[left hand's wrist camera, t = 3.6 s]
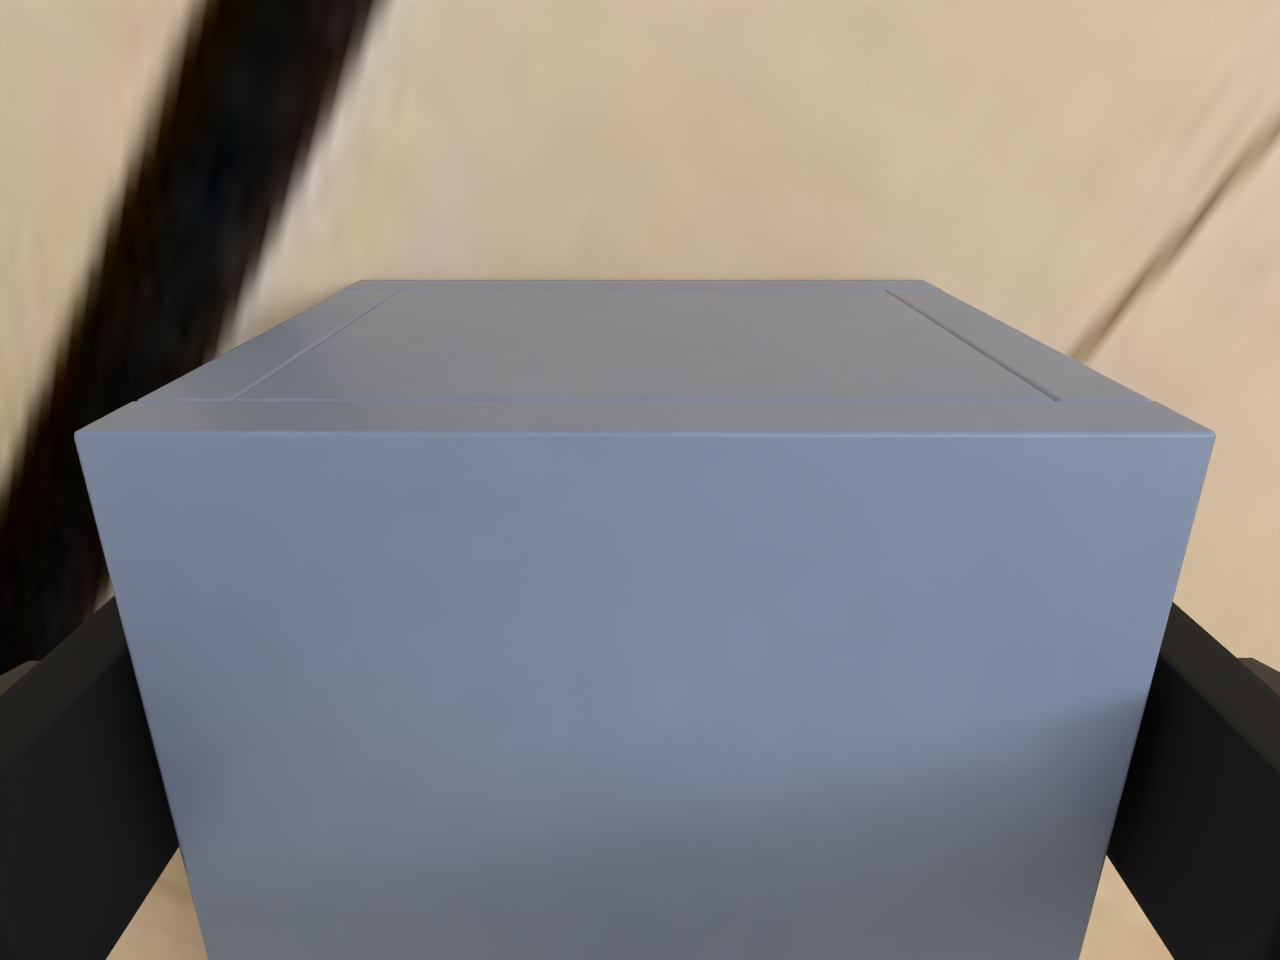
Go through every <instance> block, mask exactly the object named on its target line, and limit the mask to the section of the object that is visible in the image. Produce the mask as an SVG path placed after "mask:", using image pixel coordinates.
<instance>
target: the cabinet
mask: <svg viewBox="0 0 1280 960" xmlns="http://www.w3.org/2000/svg"><path fill="white" fill-rule="evenodd" d="M74 439H75V443H76V447H77V451H78V454H79V458H80V462H81V466H82V470H83V474H84V478H85V482H86V486H87V489H88V493H89V497H90V501H91V505H92V509H93V513H94V517H95V520H96V524H97V528H98V532H99V536H100V540H101V544H102V548H103V552H104V555H105V559H106V563H107V567H108V571H109V575H110V579H111V583H112V586H113V590H114V594H115V598H116V602H117V606H118V610H119V614H120V618H121V621H122V625H123V629H124V633H125V637H126V641H127V645H128V649H129V652H130V656H131V660H132V664H133V668H134V672H135V676H136V680H137V684H138V687H139V691H140V695H141V699H142V703H143V707H144V711H145V715H146V718H147V722H148V726H149V730H150V734H151V738H152V742H153V746H154V750H155V753H156V757H157V761H158V765H159V769H160V773H161V777H162V781H163V784H164V788H165V792H166V796H167V800H168V804H169V808H170V812H171V816H172V819H173V823H174V827H175V831H176V835H177V839H178V843H179V847H180V850H181V854H182V858H183V862H184V866H185V870H186V874H187V878H188V882H189V885H190V889H191V893H192V897H193V901H194V905H195V909H196V913H197V916H198V920H199V924H200V928H201V932H202V936H203V940H204V944H205V948H206V951H207V955H208V959H209V960H1079V956H1080V953H1081V949H1082V945H1083V941H1084V937H1085V933H1086V930H1087V926H1088V922H1089V918H1090V914H1091V911H1092V907H1093V903H1094V899H1095V895H1096V891H1097V888H1098V884H1099V880H1100V876H1101V872H1102V869H1103V865H1104V861H1105V857H1106V853H1107V849H1108V846H1109V842H1110V838H1111V834H1112V830H1113V827H1114V823H1115V819H1116V815H1117V811H1118V807H1119V804H1120V800H1121V796H1122V792H1123V788H1124V785H1125V781H1126V777H1127V773H1128V769H1129V765H1130V762H1131V758H1132V754H1133V750H1134V746H1135V743H1136V739H1137V735H1138V731H1139V727H1140V723H1141V720H1142V716H1143V712H1144V708H1145V704H1146V701H1147V697H1148V693H1149V689H1150V685H1151V681H1152V678H1153V674H1154V670H1155V666H1156V662H1157V659H1158V655H1159V651H1160V647H1161V643H1162V639H1163V636H1164V632H1165V628H1166V624H1167V620H1168V617H1169V613H1170V609H1171V605H1172V601H1173V597H1174V594H1175V590H1176V586H1177V582H1178V578H1179V574H1180V571H1181V567H1182V563H1183V559H1184V555H1185V552H1186V548H1187V544H1188V540H1189V536H1190V532H1191V529H1192V525H1193V521H1194V517H1195V513H1196V510H1197V506H1198V502H1199V498H1200V494H1201V490H1202V487H1203V483H1204V479H1205V475H1206V471H1207V468H1208V464H1209V460H1210V456H1211V452H1212V448H1213V445H1214V441H1215V433H1214V432H1213V431H1212V430H1210V429H1208V428H1206V427H1204V426H1202V425H1200V424H1198V423H1196V422H1194V421H1192V420H1190V419H1189V418H1187V417H1185V416H1183V415H1181V414H1179V413H1177V412H1175V411H1173V410H1171V409H1169V408H1167V407H1165V406H1164V405H1162V404H1160V403H1158V402H1155V401H1151V400H1150V399H1148V398H1146V397H1144V396H1142V395H1140V394H1138V393H1136V392H1135V391H1133V390H1131V389H1129V388H1127V387H1125V386H1123V385H1121V384H1119V383H1117V382H1115V381H1113V380H1112V379H1110V378H1108V377H1106V376H1104V375H1102V374H1100V373H1098V372H1096V371H1094V370H1092V369H1091V368H1089V367H1087V366H1085V365H1083V364H1081V363H1079V362H1077V361H1075V360H1073V359H1071V358H1070V357H1068V356H1066V355H1064V354H1062V353H1060V352H1058V351H1056V350H1054V349H1052V348H1050V347H1049V346H1047V345H1045V344H1043V343H1041V342H1039V341H1037V340H1035V339H1033V338H1031V337H1029V336H1028V335H1026V334H1024V333H1022V332H1020V331H1018V330H1016V329H1014V328H1012V327H1010V326H1008V325H1007V324H1005V323H1003V322H1001V321H999V320H997V319H995V318H993V317H991V316H989V315H987V314H986V313H984V312H982V311H980V310H978V309H976V308H974V307H972V306H970V305H968V304H966V303H965V302H963V301H961V300H959V299H957V298H955V297H953V296H951V295H949V294H947V293H945V292H944V291H941V289H939V288H937V287H935V286H933V285H931V284H929V283H928V282H926V281H924V280H361V281H359V282H357V283H355V284H353V285H352V286H350V287H348V288H346V289H344V291H341V292H340V293H338V294H336V295H334V296H332V297H330V298H328V299H326V300H325V301H323V302H321V303H319V304H317V305H315V306H313V307H311V308H310V309H308V310H306V311H304V312H302V313H300V314H298V315H296V316H294V317H293V318H291V319H289V320H287V321H285V322H283V323H281V324H279V325H278V326H276V327H274V328H272V329H270V330H268V331H266V332H264V333H263V334H261V335H259V336H257V337H255V338H253V339H251V340H249V341H248V342H246V343H244V344H242V345H240V346H238V347H236V348H234V349H233V350H231V351H229V352H227V353H225V354H223V355H221V356H219V357H217V358H216V359H214V360H212V361H210V362H208V363H206V364H204V365H202V366H201V367H199V368H197V369H195V370H193V371H191V372H189V373H187V374H186V375H184V376H182V377H180V378H178V379H176V380H174V381H172V382H171V383H169V384H167V385H165V386H163V387H161V388H159V389H157V390H155V391H154V392H152V393H150V394H148V395H146V396H144V397H142V398H140V399H139V400H138V401H133V402H131V403H129V404H127V405H125V406H123V407H121V408H119V409H118V410H116V411H114V412H112V413H110V414H108V415H106V416H104V417H102V418H101V419H99V420H97V421H95V422H93V423H91V424H89V425H87V426H86V427H84V428H82V429H80V430H78V431H76V432H75V434H74Z"/></svg>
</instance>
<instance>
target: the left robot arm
mask: <svg viewBox="0 0 1280 960" xmlns="http://www.w3.org/2000/svg"><path fill="white" fill-rule="evenodd" d="M178 847H179V843H178V839H177V835H176V831H175V827H174V823H173V819H172V816H171V812H170V808H169V804H168V800H167V796H166V792H165V788H164V784H163V781H162V777H161V773H160V769H159V765H158V761H157V757H156V753H155V750H154V746H153V742H152V738H151V734H150V730H149V726H148V722H147V718H146V715H145V711H144V707H143V703H142V699H141V695H140V691H139V687H138V684H137V680H136V676H135V672H134V668H133V664H132V660H131V656H130V652H129V649H128V645H127V641H126V637H125V633H124V629H123V625H122V621H121V618H120V614H119V610H118V606H117V602H116V598H115V596H113V597H112V598H111V599H110V600H109V601H108V602H107V603H106V604H104V605H103V606H102V607H101V608H100V609H99V610H98V611H96V612H95V613H94V614H93V615H92V616H91V617H90V618H88V619H87V620H86V621H85V622H84V623H83V624H82V625H80V626H79V627H78V628H77V629H76V630H75V631H74V632H72V633H71V634H70V635H69V636H68V637H67V638H66V639H64V640H63V641H62V642H61V643H60V644H59V645H58V646H56V647H55V648H54V649H53V650H52V651H51V652H50V653H49V654H47V655H46V656H45V657H44V658H43V659H42V660H41V661H27V662H25V663H24V664H22V665H20V666H18V667H16V668H14V669H12V670H10V671H9V672H7V673H5V674H3V675H1V676H0V960H106V958H107V957H108V955H109V954H110V952H111V950H112V949H113V947H114V946H115V944H116V943H117V941H118V940H119V938H120V937H121V935H122V933H123V932H124V930H125V929H126V927H127V926H128V924H129V923H130V921H131V920H132V918H133V916H134V915H135V913H136V912H137V910H138V909H139V907H140V906H141V904H142V903H143V901H144V900H145V898H146V896H147V895H148V893H149V892H150V890H151V889H152V887H153V886H154V884H155V883H156V881H157V879H158V878H159V876H160V875H161V873H162V872H163V870H164V869H165V867H166V866H167V864H168V862H169V861H170V859H171V858H172V856H173V855H174V853H175V852H176V850H177V849H178ZM1106 855H1107V856H1108V858H1109V859H1110V861H1111V862H1112V864H1113V866H1114V867H1115V869H1116V870H1117V872H1118V873H1119V875H1120V876H1121V878H1122V879H1123V881H1124V883H1125V884H1126V886H1127V887H1128V889H1129V890H1130V892H1131V893H1132V895H1133V896H1134V898H1135V899H1136V901H1137V903H1138V904H1139V906H1140V907H1141V909H1142V910H1143V912H1144V913H1145V915H1146V916H1147V918H1148V920H1149V921H1150V923H1151V924H1152V926H1153V927H1154V929H1155V930H1156V932H1157V933H1158V935H1159V937H1160V938H1161V940H1162V941H1163V943H1164V944H1165V946H1166V947H1167V949H1168V950H1169V952H1170V954H1171V955H1172V957H1173V958H1174V960H1280V672H1278V671H1276V670H1274V669H1272V668H1270V667H1269V666H1267V665H1265V664H1263V663H1261V662H1259V661H1257V660H1255V659H1254V658H1236V657H1235V656H1234V655H1233V654H1232V653H1230V652H1229V651H1228V650H1227V649H1226V648H1225V647H1224V646H1222V645H1221V644H1220V643H1219V642H1218V641H1217V640H1216V639H1214V638H1213V637H1212V636H1211V635H1210V634H1209V633H1208V632H1206V631H1205V630H1204V629H1203V628H1202V627H1201V626H1200V625H1198V624H1197V623H1196V622H1195V621H1194V620H1193V619H1192V618H1190V617H1189V616H1188V615H1187V614H1186V613H1185V612H1184V611H1182V610H1181V609H1180V608H1179V607H1178V606H1177V605H1176V604H1175V603H1173V602H1172V605H1171V609H1170V613H1169V617H1168V620H1167V624H1166V628H1165V632H1164V636H1163V639H1162V643H1161V647H1160V651H1159V655H1158V659H1157V662H1156V666H1155V670H1154V674H1153V678H1152V681H1151V685H1150V689H1149V693H1148V697H1147V701H1146V704H1145V708H1144V712H1143V716H1142V720H1141V723H1140V727H1139V731H1138V735H1137V739H1136V743H1135V746H1134V750H1133V754H1132V758H1131V762H1130V765H1129V769H1128V773H1127V777H1126V781H1125V785H1124V788H1123V792H1122V796H1121V800H1120V804H1119V807H1118V811H1117V815H1116V819H1115V823H1114V827H1113V830H1112V834H1111V838H1110V842H1109V846H1108V849H1107V853H1106Z"/></svg>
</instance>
